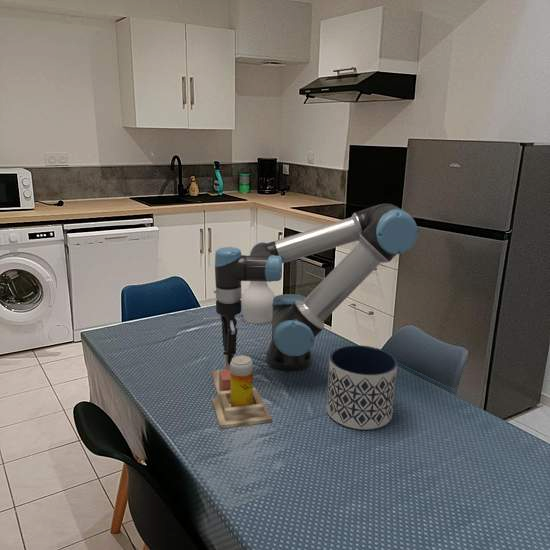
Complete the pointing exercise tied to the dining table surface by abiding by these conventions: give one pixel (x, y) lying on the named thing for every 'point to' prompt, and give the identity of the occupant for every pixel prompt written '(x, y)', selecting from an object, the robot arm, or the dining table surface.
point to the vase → (257, 303)
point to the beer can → (241, 381)
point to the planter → (361, 386)
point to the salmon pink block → (224, 380)
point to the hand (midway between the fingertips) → (229, 371)
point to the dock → (238, 408)
